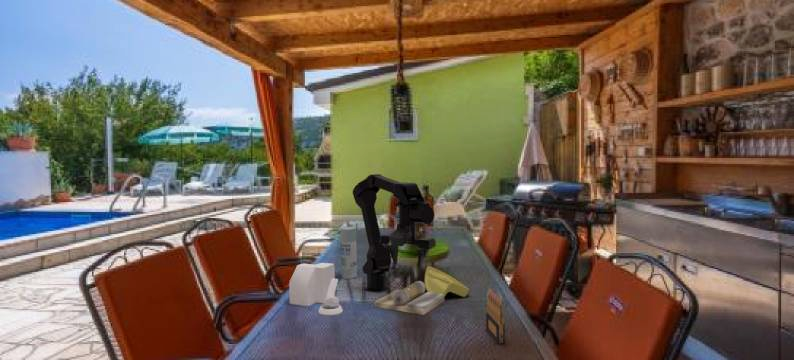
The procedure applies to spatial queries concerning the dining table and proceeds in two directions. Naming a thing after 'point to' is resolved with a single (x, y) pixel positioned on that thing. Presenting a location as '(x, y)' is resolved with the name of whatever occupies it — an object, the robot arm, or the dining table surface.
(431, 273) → the plastic component
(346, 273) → the spray paint can
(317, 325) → the dining table surface
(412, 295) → the brass cylinder with flap
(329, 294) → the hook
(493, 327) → the ammunition clip
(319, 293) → the white rounded block
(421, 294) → the hinge base
